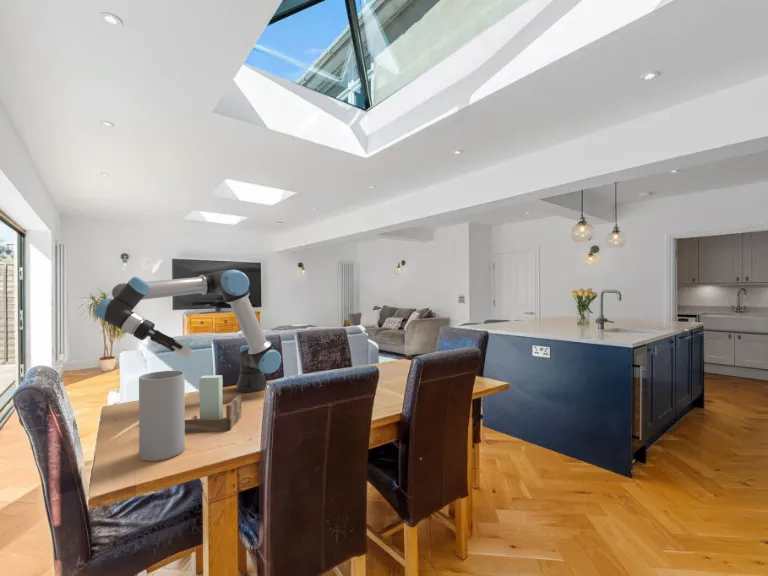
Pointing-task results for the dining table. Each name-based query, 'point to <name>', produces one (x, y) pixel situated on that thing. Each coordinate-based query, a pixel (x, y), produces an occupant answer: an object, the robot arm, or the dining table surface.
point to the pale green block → (211, 397)
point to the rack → (217, 424)
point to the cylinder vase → (161, 415)
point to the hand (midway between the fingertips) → (190, 354)
